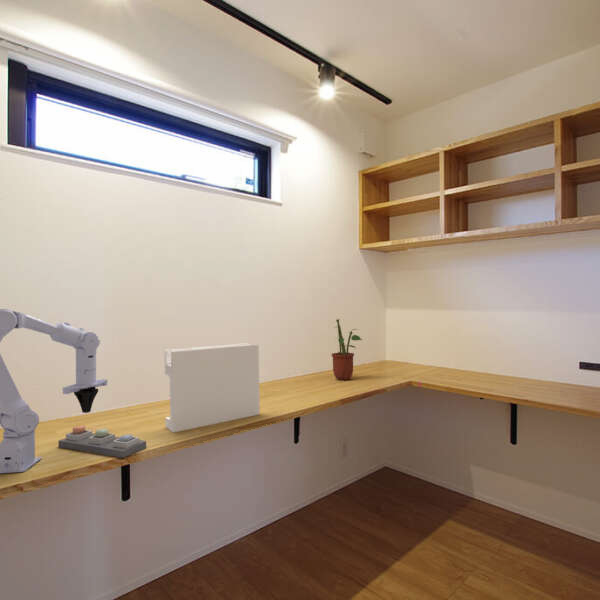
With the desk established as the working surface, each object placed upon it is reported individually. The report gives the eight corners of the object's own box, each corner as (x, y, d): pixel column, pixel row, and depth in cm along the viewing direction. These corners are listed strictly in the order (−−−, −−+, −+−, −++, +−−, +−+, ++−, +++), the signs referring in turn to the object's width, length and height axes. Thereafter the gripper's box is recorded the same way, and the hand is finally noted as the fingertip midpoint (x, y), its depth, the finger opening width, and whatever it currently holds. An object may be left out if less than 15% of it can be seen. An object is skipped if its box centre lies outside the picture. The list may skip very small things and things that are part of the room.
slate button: (135, 440, 121) (135, 435, 121) (126, 443, 117) (126, 438, 118) (126, 438, 122) (126, 433, 122) (117, 442, 119) (116, 437, 119)
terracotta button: (88, 430, 128) (88, 426, 128) (78, 434, 125) (78, 429, 125) (80, 429, 130) (80, 424, 130) (70, 432, 126) (70, 428, 126)
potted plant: (334, 381, 223) (332, 319, 224) (329, 377, 239) (328, 319, 239) (364, 380, 225) (363, 319, 225) (358, 376, 240) (356, 318, 241)
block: (173, 432, 137) (172, 351, 138) (165, 427, 144) (164, 350, 144) (259, 414, 159) (258, 344, 159) (249, 410, 165) (248, 343, 165)
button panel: (146, 447, 123) (146, 435, 123) (123, 458, 114) (123, 445, 114) (83, 438, 133) (83, 427, 133) (58, 447, 125) (58, 435, 125)
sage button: (110, 433, 125) (110, 429, 125) (101, 437, 121) (101, 432, 121) (102, 432, 126) (102, 428, 126) (92, 436, 123) (92, 431, 123)
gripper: (73, 373, 118) (74, 419, 118) (114, 366, 132) (114, 407, 131) (57, 372, 121) (58, 417, 121) (98, 365, 134) (99, 406, 134)
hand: (86, 412), depth 126 cm, fingers closed
